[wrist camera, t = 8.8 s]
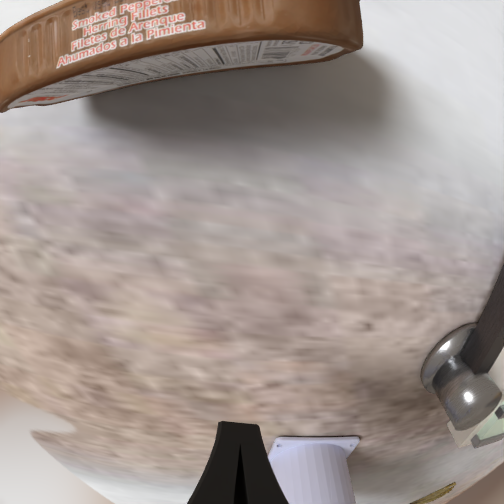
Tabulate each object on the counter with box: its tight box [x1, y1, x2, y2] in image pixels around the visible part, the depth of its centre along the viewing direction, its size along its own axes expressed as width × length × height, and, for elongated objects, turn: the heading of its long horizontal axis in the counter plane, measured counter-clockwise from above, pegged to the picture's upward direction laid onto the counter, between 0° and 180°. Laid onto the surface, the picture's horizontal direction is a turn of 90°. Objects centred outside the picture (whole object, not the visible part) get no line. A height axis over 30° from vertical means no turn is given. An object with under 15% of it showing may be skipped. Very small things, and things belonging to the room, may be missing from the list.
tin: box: [0, 0, 363, 113], centre depth 10 cm, size 15×3×8 cm, turn 94°
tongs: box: [410, 482, 456, 504], centre depth 36 cm, size 4×13×2 cm, turn 112°
